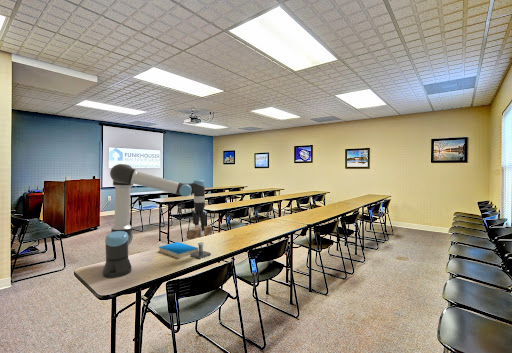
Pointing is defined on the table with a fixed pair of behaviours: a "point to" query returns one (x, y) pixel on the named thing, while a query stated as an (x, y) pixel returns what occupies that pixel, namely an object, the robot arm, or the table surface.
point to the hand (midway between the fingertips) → (200, 234)
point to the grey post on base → (200, 252)
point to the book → (178, 249)
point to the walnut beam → (198, 232)
